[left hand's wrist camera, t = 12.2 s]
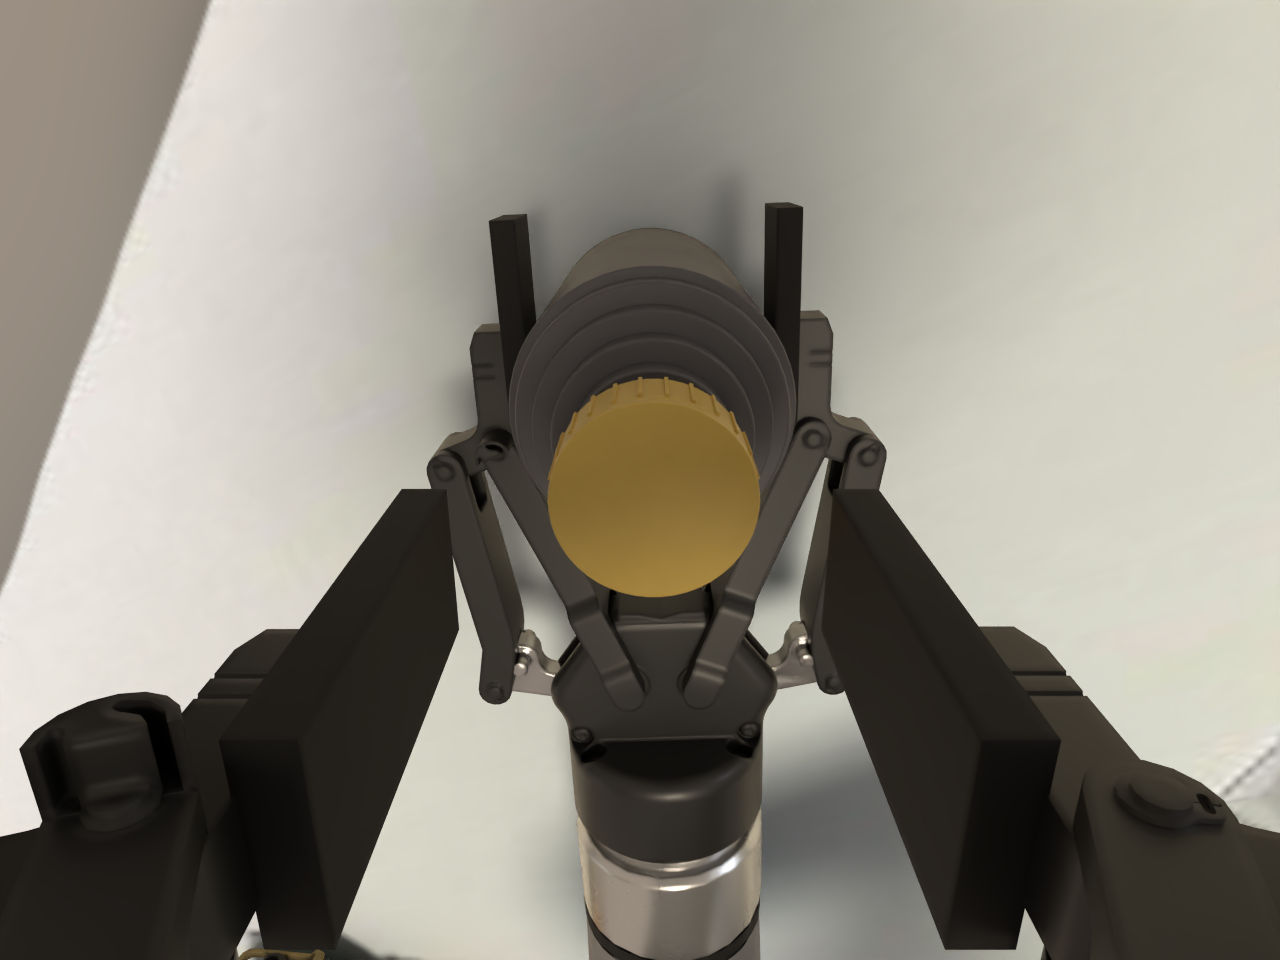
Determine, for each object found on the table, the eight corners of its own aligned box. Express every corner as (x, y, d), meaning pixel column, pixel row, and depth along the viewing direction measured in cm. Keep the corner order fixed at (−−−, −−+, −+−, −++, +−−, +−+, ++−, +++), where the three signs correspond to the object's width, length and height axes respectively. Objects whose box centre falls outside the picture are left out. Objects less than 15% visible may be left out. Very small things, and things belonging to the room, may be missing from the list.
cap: (541, 543, 19) (530, 581, 17) (569, 358, 17) (561, 380, 16) (728, 574, 19) (735, 616, 17) (772, 394, 18) (786, 420, 16)
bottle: (542, 402, 35) (445, 628, 18) (570, 210, 32) (485, 269, 15) (723, 434, 35) (792, 684, 18) (766, 248, 32) (892, 345, 16)
